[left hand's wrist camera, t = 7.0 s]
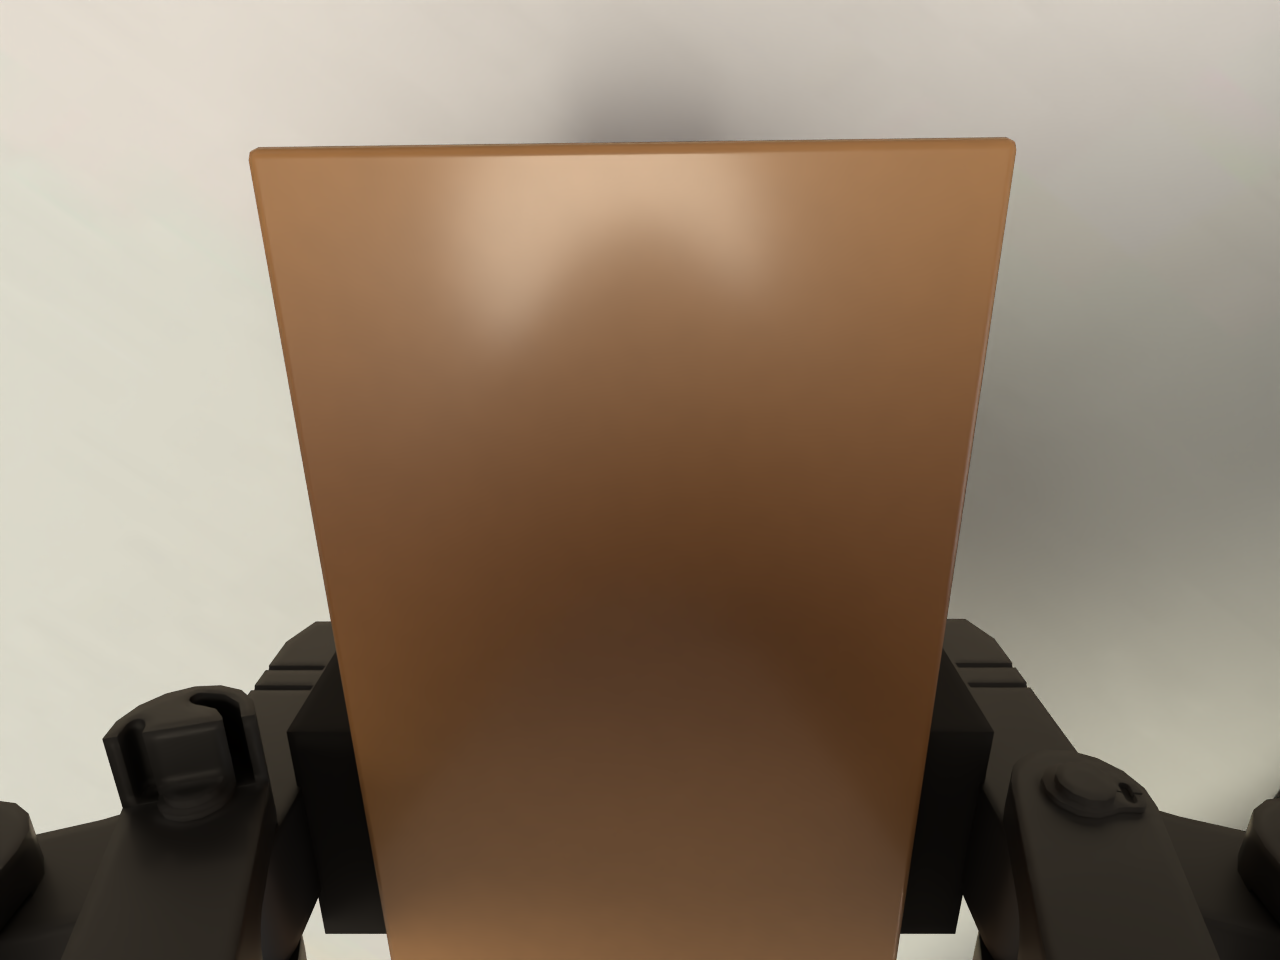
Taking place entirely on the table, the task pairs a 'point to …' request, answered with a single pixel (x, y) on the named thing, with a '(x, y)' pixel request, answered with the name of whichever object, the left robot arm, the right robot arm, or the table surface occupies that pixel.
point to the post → (638, 522)
